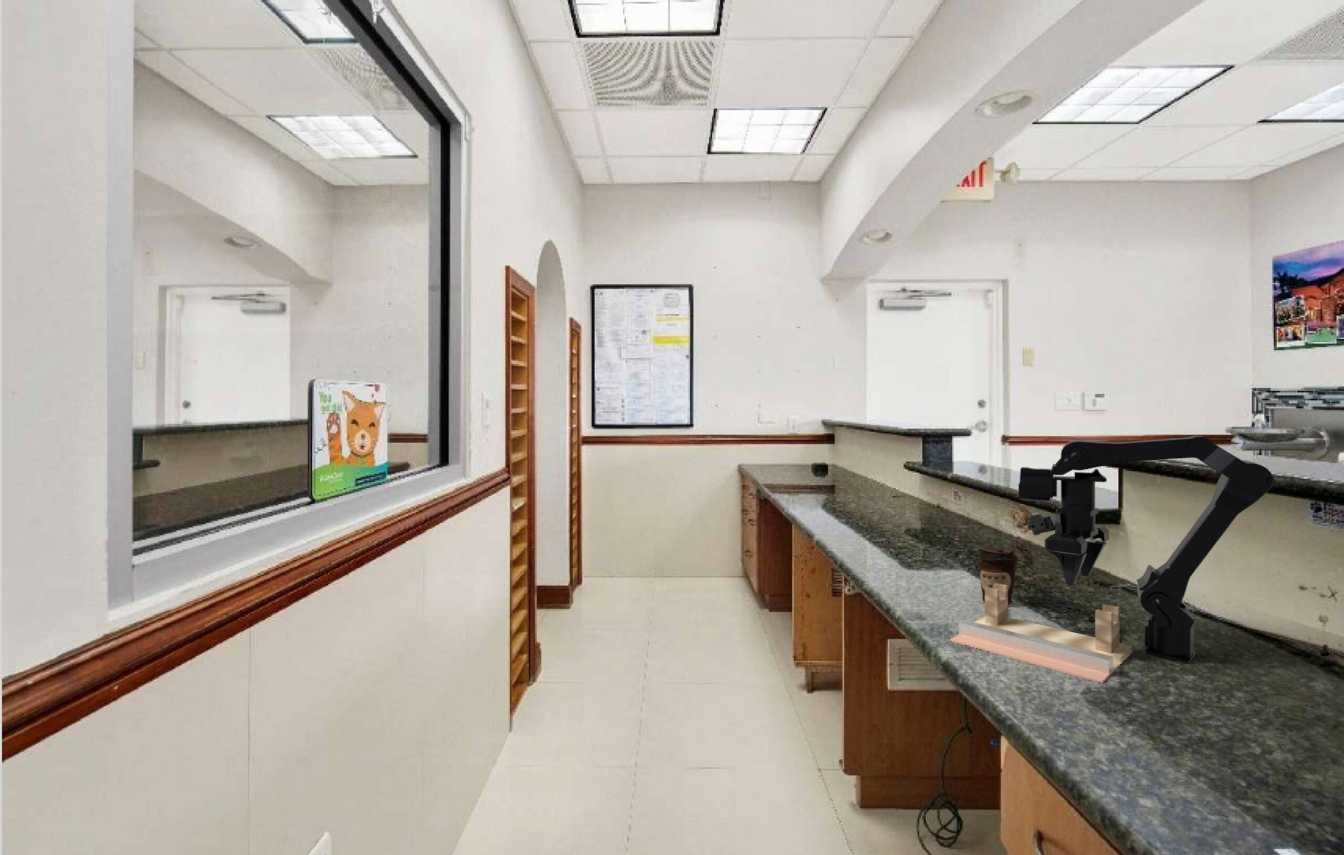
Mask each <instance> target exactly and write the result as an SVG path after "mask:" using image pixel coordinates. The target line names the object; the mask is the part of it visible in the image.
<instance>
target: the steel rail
mask: <svg viewBox="0 0 1344 855" xmlns="http://www.w3.org/2000/svg"><path fill="white" fill-rule="evenodd" d="M974 622H975V621H970V620H965V619H964V620H962V621H960V622H958V635H959V634H960V635H963V636H967V637H971V638H975V639H978V640H982V641H986V642H990V643H993V644H997V645H1001V646H1005V647H1009V648H1012V649H1016V650H1020V651H1024V652H1027V653H1031V654H1035V655H1039V656H1043V657H1046V658H1050V659H1054V660H1058V661H1061V662H1065V663H1069V664H1073V665H1077V666H1080V667H1084V668H1088V669H1092V670H1095V671H1099V672H1103V673H1107V674H1110V672H1111V671H1112V670H1113V657H1112V656H1108V655H1104V654H1100V653H1096V652H1092V651H1088V650H1084V649H1080V648H1076V647H1072V646H1068V645H1064V644H1060V643H1055V642H1051V641H1047V640H1043V639H1039V638H1035V637H1031V636H1027V635H1023V634H1019V633H1015V632H1011V631H1007V630H1003V629H999V628H994V627H990V626H986V625H982V624H978V623H974Z"/></svg>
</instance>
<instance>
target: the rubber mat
mask: <svg viewBox="0 0 1344 855" xmlns="http://www.w3.org/2000/svg"><path fill="white" fill-rule="evenodd" d="M949 641H950V642H951V641H952V643H955V644H958V643H959V645H962V646H965V645H967V646H966V647H969V646H970V648H973V647H974V648H973V649H976V648H978V649H977V650H980V649H981V651H984V650H985V651H984V652H987V651H989V652H988V653H992V654H995V655H999V656H1001V657H1005V658H1010V659H1013V660H1017V661H1020V662H1024V663H1027V664H1031V665H1034V666H1039V667H1042V668H1046V669H1049V670H1053V671H1057V672H1059V671H1060V673H1064V674H1066V675H1067V674H1068V675H1071V676H1074V677H1078V678H1081V679H1084V680H1085V679H1086V680H1089V681H1093V682H1096V681H1097V682H1096V683H1099V682H1101V683H1100V684H1103V683H1104V682H1105V681H1107V679H1109V677H1110V676H1111V675H1112V674H1113V673H1114V672H1115V671H1116V670H1117V669H1118V668H1119V667H1120V664H1117V663H1113V670H1112V671H1111V672H1110V674H1107V673H1103V672H1099V671H1095V670H1092V669H1088V668H1084V667H1080V666H1077V665H1073V664H1069V663H1065V662H1061V661H1058V660H1054V659H1050V658H1046V657H1043V656H1039V655H1035V654H1031V653H1027V652H1024V651H1020V650H1016V649H1012V648H1009V647H1005V646H1001V645H997V644H993V643H990V642H986V641H982V640H978V639H975V638H971V637H967V636H963V635H960V634H959V633H958V634H957V635H955V636H953V637H952V638H951V639H949Z"/></svg>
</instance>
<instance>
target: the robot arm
mask: <svg viewBox="0 0 1344 855" xmlns="http://www.w3.org/2000/svg"><path fill="white" fill-rule="evenodd" d="M1192 458H1193V459H1197V460H1198V461H1200V462H1202V463H1203V464H1204V465H1206V466H1208V467H1209V468H1210V469H1212V470H1214V471H1215V472H1217V473H1219V474H1220V477H1219V479H1218V481H1217V483H1216V485H1215V489H1214V492H1213V495H1212V499H1211V500H1210V503H1209V504H1208V505H1207V507H1205V509H1204V510H1203V512H1202V513H1201V514H1200V516H1199V517H1198V519H1196V521H1195V523H1194V524H1193V526H1192V527H1191V528H1190V530H1189V531H1188V532H1187V533H1186V535H1185V536H1184V538H1183V539H1182V540H1181V541H1180V543H1179V544H1178V545H1177V547H1176V548H1175V550H1174V551H1173V553H1172V554H1171V555H1170V556H1169V558H1168V559H1167V560H1166V562H1165V563H1163V564H1162V565H1160V566H1159V567H1157V568H1155V567H1153V566H1152V565H1151V564H1148V565H1147V566H1146V570H1145V572H1144V574H1143V575H1142V576H1141V577H1140V578H1138V579H1136V584H1137V589H1136V592H1137V595H1138V596H1137V597H1138V599H1139V602H1140V605H1141V607H1142V608H1143V609H1144V611H1146V612H1147V613H1148V614H1150V615H1151V616H1150V617H1149V618H1148V619H1147V623H1146V624H1145V625H1144V647H1145V648H1146V649H1145V651H1144V652H1145V653H1146V654H1149V655H1152V656H1157V657H1161V658H1165V659H1169V660H1174V661H1179V662H1183V663H1186V664H1188V663H1189V664H1190V663H1191V662H1192V660H1193V659H1194V657H1195V656H1196V654H1197V651H1196V650H1194V649H1195V648H1194V644H1195V642H1194V638H1195V636H1194V633H1195V631H1194V630H1195V620H1194V618H1193V615H1192V614H1191V611H1190V610H1189V608H1188V606H1187V605H1186V604H1185V603H1183V599H1184V597H1185V594H1186V591H1187V588H1188V584H1189V581H1190V579H1191V577H1193V576H1192V575H1193V574H1194V573H1195V572H1196V570H1197V569H1198V568H1199V566H1200V565H1201V564H1202V562H1203V561H1204V560H1205V559H1206V558H1207V555H1209V553H1210V552H1211V551H1212V549H1213V548H1214V547H1215V545H1216V544H1217V543H1218V542H1219V540H1220V539H1221V538H1222V536H1223V535H1224V533H1225V532H1226V531H1227V529H1229V527H1230V526H1231V525H1232V523H1233V522H1234V520H1236V518H1237V517H1238V515H1239V514H1241V513H1242V512H1244V511H1245V510H1247V509H1248V508H1250V507H1251V506H1252V505H1254V504H1256V503H1257V502H1258V501H1259V500H1260V499H1261V498H1263V496H1264V495H1265V494H1267V493H1268V492H1269V491H1270V490H1271V489H1272V488H1273V486H1274V484H1275V480H1274V476H1273V474H1272V472H1271V471H1270V470H1269V468H1267V467H1265V466H1264V465H1262V464H1259V463H1256V462H1254V461H1251V460H1250V461H1249V460H1246V459H1244V460H1242V459H1241V458H1240V457H1237V456H1235V455H1233V454H1232V453H1230V452H1229V451H1227V450H1225V449H1223V448H1222V447H1220V446H1219V445H1218V444H1216V443H1214V441H1212V440H1211V438H1208V437H1206V436H1202V435H1191V436H1187V437H1177V438H1176V437H1175V438H1163V439H1150V440H1149V439H1148V440H1135V441H1134V440H1133V441H1121V442H1113V441H1112V442H1110V441H1102V440H1101V441H1099V440H1085V439H1074V440H1070V441H1068V442H1066V443H1065V445H1063V447H1062V449H1061V451H1060V458H1059V459H1058V460H1057V461H1056V462H1055V463H1053V464H1052V467H1051V468H1036V467H1035V468H1031V467H1028V466H1023V467H1020V468H1019V471H1020V472H1019V474H1020V475H1019V483H1018V500H1019V501H1020V500H1021V501H1034V502H1035V501H1036V502H1037V501H1038V502H1051V500H1052V499H1053V498H1054V497H1055V498H1057V497H1058V481H1060V506H1059V507H1057V508H1056V509H1055V513H1054V514H1049V515H1042V514H1041V513H1037V514H1032V515H1030V516H1029V520H1028V521H1027V529H1028V530H1031V532H1032V534H1033V536H1039V535H1040V534H1044V533H1048V532H1050V533H1051V532H1054V533H1053V534H1051V535H1049V536H1048V537H1046V538H1045V539H1044V549H1045V550H1047V551H1048V553H1050V554H1051V555H1053V556H1054V557H1055V558H1056V559H1057V561H1058V562H1059V565H1060V568H1061V571H1062V575H1063V576H1064V580H1065V584H1066V585H1067V586H1074V585H1075V583H1076V580H1077V579H1078V576H1079V574H1081V576H1083V577H1088V576H1090V574H1091V573H1092V570H1093V569H1094V566H1095V564H1096V562H1097V561H1098V558H1099V557H1100V555H1101V554H1102V552H1103V550H1104V548H1105V547H1106V545H1107V541H1108V540H1110V530H1109V529H1108V528H1107V527H1106V526H1105V525H1101V524H1096V515H1097V514H1099V508H1098V507H1096V483H1106V482H1107V480H1108V479H1107V477H1106V476H1105V475H1103V474H1102V473H1101V472H1100V470H1099V469H1098V468H1101V467H1104V466H1107V465H1112V464H1116V463H1117V464H1118V463H1124V462H1126V463H1127V462H1128V463H1129V462H1141V461H1143V462H1144V461H1159V460H1174V459H1175V460H1178V459H1192ZM1091 469H1094V470H1092V472H1084V470H1085V471H1086V470H1091ZM1071 471H1075V472H1074V475H1073V476H1070V475H1069V476H1064V475H1066V474H1068V473H1069V472H1071ZM1079 471H1080V472H1079ZM1099 539H1101V540H1099Z"/></svg>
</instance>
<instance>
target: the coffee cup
mask: <svg viewBox="0 0 1344 855" xmlns="http://www.w3.org/2000/svg"><path fill="white" fill-rule="evenodd" d="M1015 551H1016V550H1015V549H1013V548H1012V549H1011V548H1008V547H1007V548H1006V547H995V546H994V547H993V546H991V547H982V548H981V550H980V552H979V553H978V555H977V556H978V566H979V567H978V568H979V577H980V589H981V594H982V602H984V603H985V588H986V587H988V588H993V589H994V584H995V583H998V584H1003V585H1008V607H1012V606H1013V605H1014V602H1013V599H1012V598H1013V593H1014V586H1015V581H1016V568H1017V567H1016V566H1017V564H1018V560H1019V559H1018V558H1019V557H1018V555H1017V554H1016V553H1015Z"/></svg>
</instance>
